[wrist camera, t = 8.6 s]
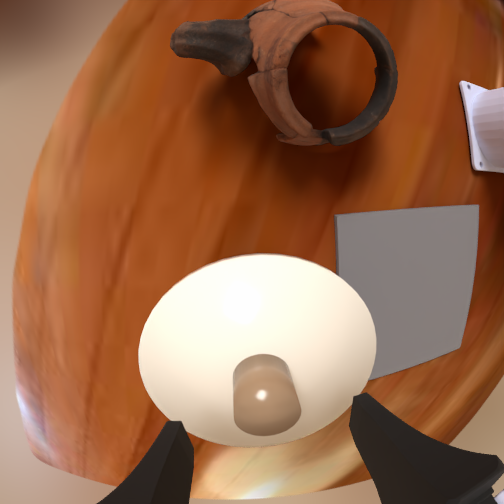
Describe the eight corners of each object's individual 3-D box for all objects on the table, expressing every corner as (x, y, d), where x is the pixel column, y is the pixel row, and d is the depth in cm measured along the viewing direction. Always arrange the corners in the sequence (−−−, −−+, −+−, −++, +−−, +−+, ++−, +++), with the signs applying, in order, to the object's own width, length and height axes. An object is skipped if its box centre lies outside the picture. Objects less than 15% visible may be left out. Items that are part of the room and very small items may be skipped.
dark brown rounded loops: (338, 21, 15) (420, 25, 9) (319, 127, 21) (386, 171, 15) (173, -5, 11) (186, -44, 5) (164, 124, 17) (170, 170, 11)
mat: (475, 204, 18) (478, 205, 18) (457, 345, 22) (459, 347, 21) (334, 214, 18) (336, 215, 17) (333, 385, 21) (335, 388, 21)
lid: (404, 282, 14) (443, 308, 10) (322, 444, 17) (335, 480, 13) (157, 224, 12) (130, 239, 9) (138, 420, 15) (126, 460, 12)
